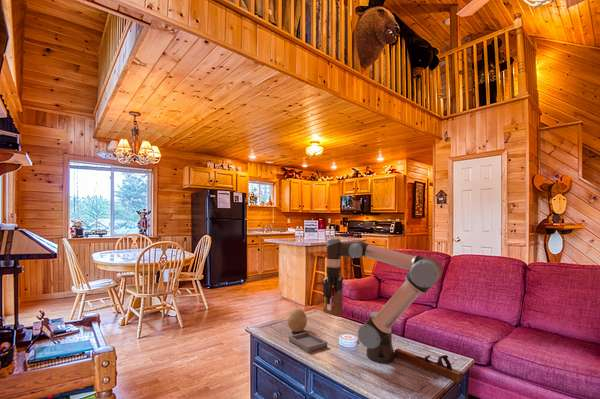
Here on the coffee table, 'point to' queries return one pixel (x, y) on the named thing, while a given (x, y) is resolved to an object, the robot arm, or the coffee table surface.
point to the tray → (308, 342)
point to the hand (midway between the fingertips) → (332, 309)
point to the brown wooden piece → (335, 304)
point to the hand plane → (431, 365)
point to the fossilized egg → (297, 320)
